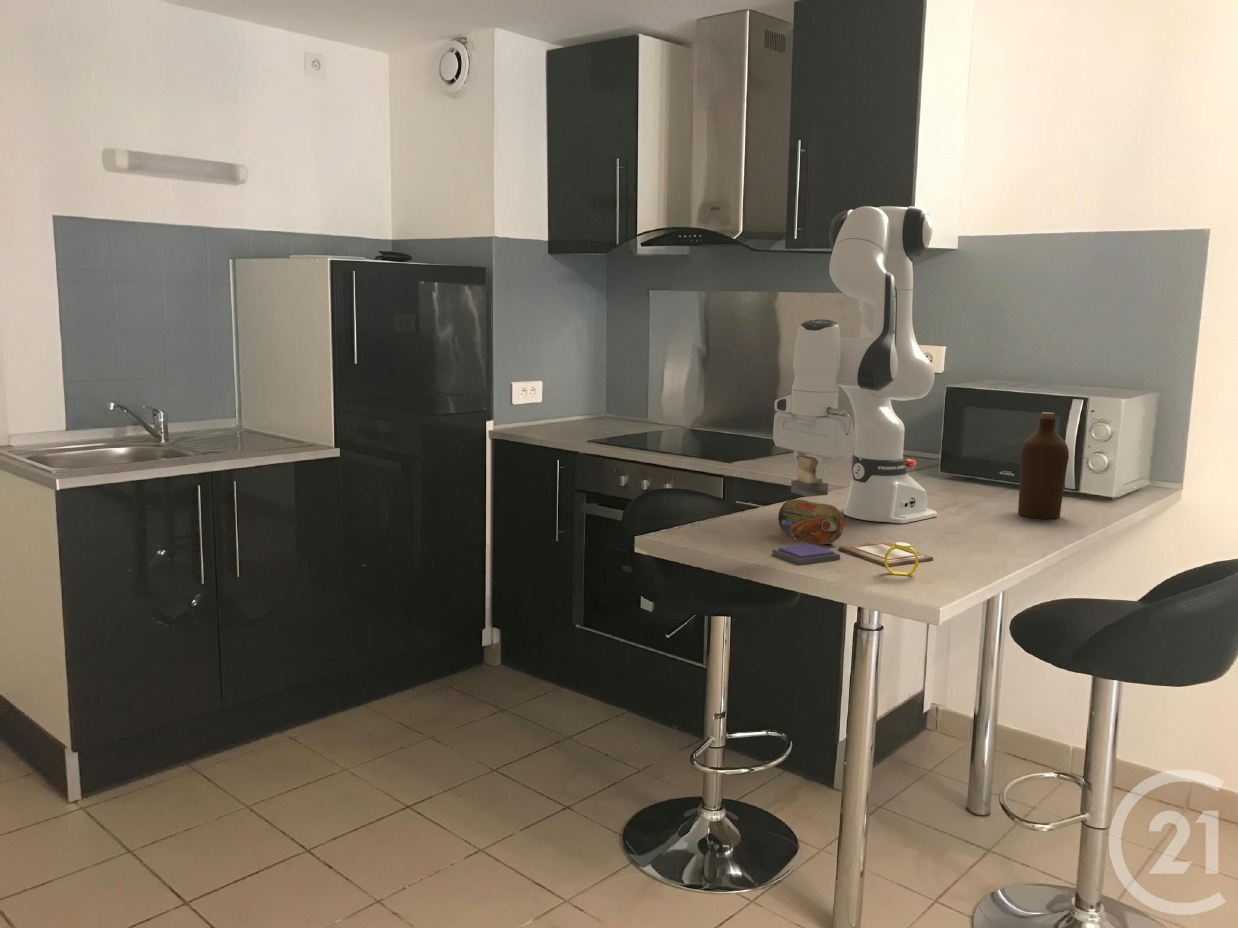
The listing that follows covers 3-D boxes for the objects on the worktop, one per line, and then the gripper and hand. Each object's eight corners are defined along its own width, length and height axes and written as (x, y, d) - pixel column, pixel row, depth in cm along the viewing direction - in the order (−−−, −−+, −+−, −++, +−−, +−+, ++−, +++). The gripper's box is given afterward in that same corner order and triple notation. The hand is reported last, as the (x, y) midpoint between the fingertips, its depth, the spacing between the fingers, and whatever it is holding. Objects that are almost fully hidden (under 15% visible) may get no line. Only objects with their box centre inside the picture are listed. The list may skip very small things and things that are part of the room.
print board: (882, 544, 205) (883, 539, 205) (932, 560, 193) (933, 555, 193) (838, 549, 199) (838, 545, 199) (887, 566, 187) (887, 562, 187)
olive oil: (1031, 520, 232) (1041, 415, 228) (1006, 510, 242) (1015, 410, 238) (1072, 519, 234) (1082, 415, 230) (1045, 510, 244) (1054, 410, 240)
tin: (776, 534, 211) (778, 496, 210) (785, 532, 213) (787, 494, 212) (836, 548, 201) (838, 508, 199) (844, 545, 203) (847, 506, 201)
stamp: (810, 490, 194) (812, 454, 193) (827, 494, 190) (829, 458, 188) (790, 492, 192) (792, 456, 190) (807, 496, 187) (809, 460, 186)
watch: (915, 575, 183) (919, 544, 182) (916, 579, 180) (921, 548, 179) (882, 570, 184) (886, 539, 183) (883, 574, 181) (887, 543, 180)
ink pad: (811, 549, 199) (812, 542, 199) (839, 559, 191) (840, 552, 191) (772, 554, 194) (772, 547, 194) (799, 564, 187) (799, 557, 186)
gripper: (864, 410, 180) (859, 484, 183) (794, 399, 198) (790, 467, 200) (837, 411, 177) (833, 486, 180) (769, 400, 195) (765, 468, 197)
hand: (810, 476), depth 190 cm, fingers closed on stamp, 3 cm apart
